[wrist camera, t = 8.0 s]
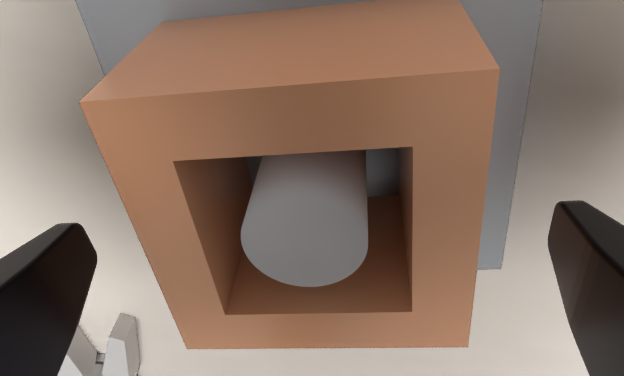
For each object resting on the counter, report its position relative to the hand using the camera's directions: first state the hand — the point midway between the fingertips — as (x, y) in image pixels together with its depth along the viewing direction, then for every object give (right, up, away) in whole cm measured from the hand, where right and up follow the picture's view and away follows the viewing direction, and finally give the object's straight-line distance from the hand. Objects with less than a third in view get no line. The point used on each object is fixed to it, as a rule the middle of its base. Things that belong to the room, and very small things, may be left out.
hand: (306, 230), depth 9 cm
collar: (0, +2, +3) cm, 4 cm away
